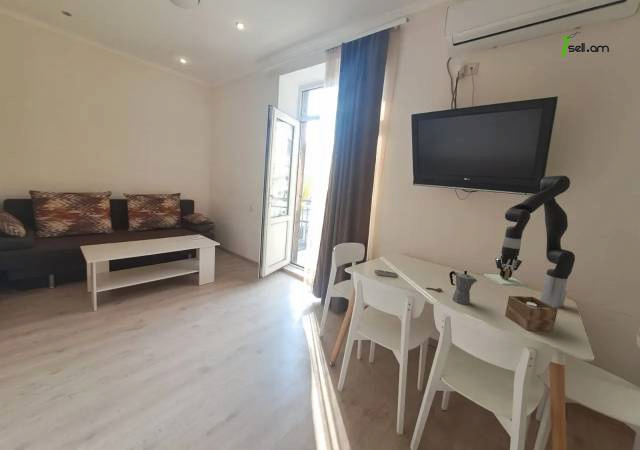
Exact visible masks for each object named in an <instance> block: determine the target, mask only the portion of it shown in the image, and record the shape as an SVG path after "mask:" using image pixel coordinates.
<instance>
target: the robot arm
mask: <svg viewBox="0 0 640 450" xmlns="http://www.w3.org/2000/svg"><path fill="white" fill-rule="evenodd" d="M570 186H571V180H570V177H568V176H567V175H551V176H544V177H543V178H542V179H541V180H540V184H539V187H540V191H539V192H537V193H534V194H532V195H530V196H528V197H527V198H525V199H524V200H522V202H521V203H518V204H516V205H513V206H512V207H511V206H510V208H508V209H507V210H506V211H505V213H504V218H505V220H506V221H508V222H510V223H511V222H513V223H515V225H512V226H506V227H507V228H506V229H505V234H504V239H503V241H502V246H501V252H500V253H501V255H500V257H499V258H494V261H495V264H496V268H497V269H498V270H500V271H499V272H500V273H499V275H500V276H501V277H502V278H504V277H505V272H506V271H505V270H506V268H509V269H510V274H509V278H511V277H512V276H513V272H514V271H518V269H519V267H520V266H521V264H522V262H523V260H520V259H518V257H519V255H520V250H521V245H522V237H523V232H524V231H525V228H526V227H527V225H528V223H529V221H530V219H531V214H532V213H534V212H535V211H536V210H538V209H539V208H541V206H543V210H544V222H545V229H546V231H545V233H546V251H545V254H546V259H547V261H548V262H549V263H552V264H555V268H548V269H547V270H546V274H545V278H544V283H543V288H542V292H541V296H540V297H541V298H540V301H542V302H544V303H546V304H548V305H550V306H552V307H554V308H556V309H559V308H562V307H564V303H565V300H566V295H567V291H566V288H567V283H568V279H569V277H570V275H571V273H572V271H573V268H574V264H575V260H576V256H575V253H574V252H573V251H570V250H567V249H564V248H562V244H561V242H562V241H561V240H562V237H563V236H564V234H565V233H566V232H567V229H568V227H569V222H568V215H567V213H566V211H565V210H564V209H563V208H562V207H561V205H560V204H559V203H558V202H557V200H556V197H557V196H559V195H562V194H563V193H565V192H566V191H568V189H569V188H570Z"/></svg>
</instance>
